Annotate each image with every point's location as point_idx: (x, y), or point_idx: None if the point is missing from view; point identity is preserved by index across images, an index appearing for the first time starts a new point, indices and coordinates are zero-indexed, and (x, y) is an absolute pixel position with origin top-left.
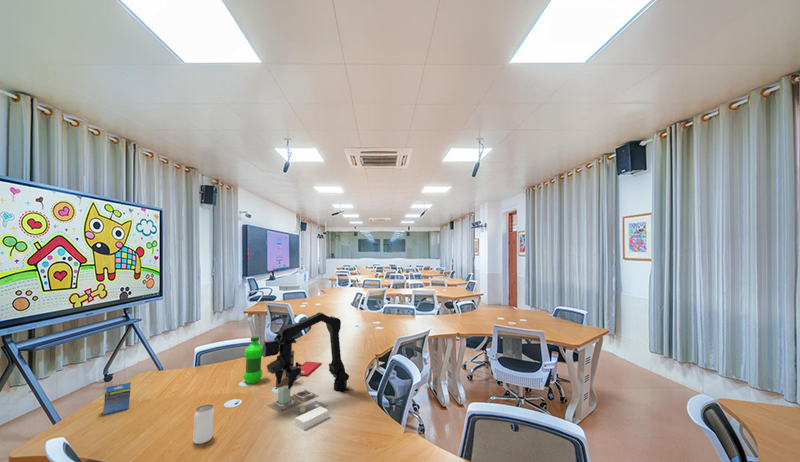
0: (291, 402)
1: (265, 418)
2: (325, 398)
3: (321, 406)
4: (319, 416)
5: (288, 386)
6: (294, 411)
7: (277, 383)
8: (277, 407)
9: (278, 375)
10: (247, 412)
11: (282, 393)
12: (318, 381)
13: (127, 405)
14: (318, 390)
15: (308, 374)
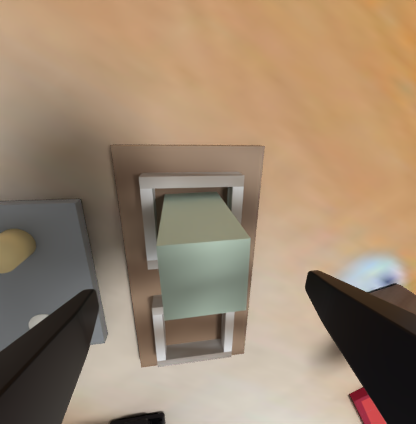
0: (146, 248)
1: (142, 58)
2: (117, 372)
3: (15, 334)
4: None
5: (62, 311)
6: (62, 216)
7: (407, 299)
8: (185, 172)
9: (406, 363)
10: (311, 27)
11: (168, 228)
12: (279, 405)
13: None
14: (211, 380)
15: (355, 404)
